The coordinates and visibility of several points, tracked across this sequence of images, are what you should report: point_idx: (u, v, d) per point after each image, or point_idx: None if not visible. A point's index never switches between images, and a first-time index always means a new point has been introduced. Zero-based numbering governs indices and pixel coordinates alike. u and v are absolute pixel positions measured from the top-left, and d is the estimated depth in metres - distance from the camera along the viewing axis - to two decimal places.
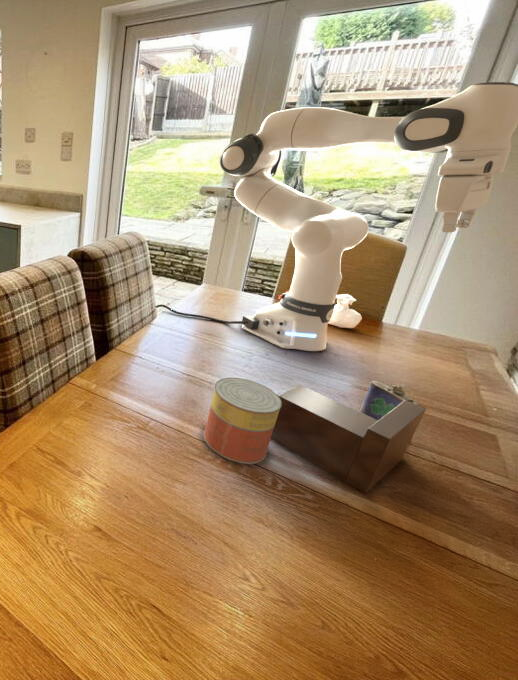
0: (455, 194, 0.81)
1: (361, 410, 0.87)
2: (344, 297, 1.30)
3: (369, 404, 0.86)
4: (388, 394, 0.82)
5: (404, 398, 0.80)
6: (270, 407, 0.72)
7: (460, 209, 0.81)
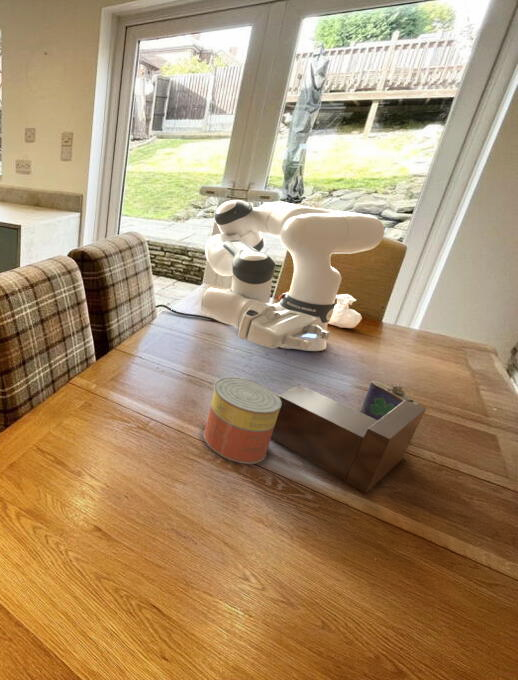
0: (260, 334, 0.93)
1: (361, 410, 0.87)
2: (344, 297, 1.30)
3: (369, 404, 0.86)
4: (388, 394, 0.82)
5: (404, 398, 0.80)
6: (270, 407, 0.72)
7: (277, 334, 0.91)
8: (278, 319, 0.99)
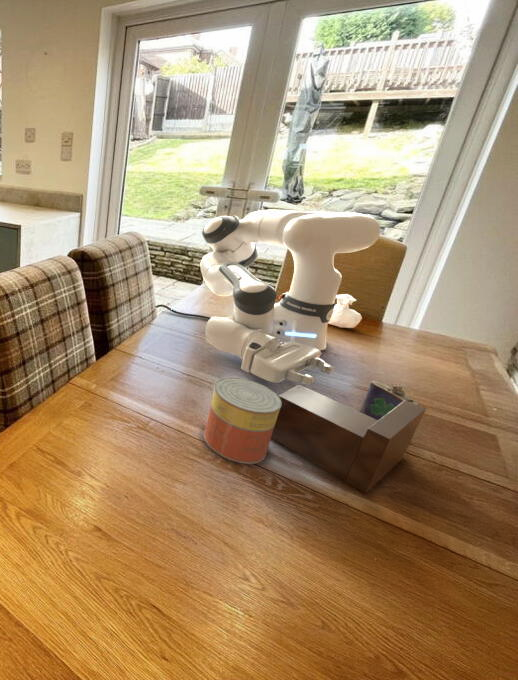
0: (263, 368, 0.94)
1: (361, 410, 0.87)
2: (344, 297, 1.30)
3: (369, 404, 0.86)
4: (388, 394, 0.82)
5: (404, 398, 0.80)
6: (270, 407, 0.72)
7: (279, 369, 0.92)
8: (281, 352, 1.00)
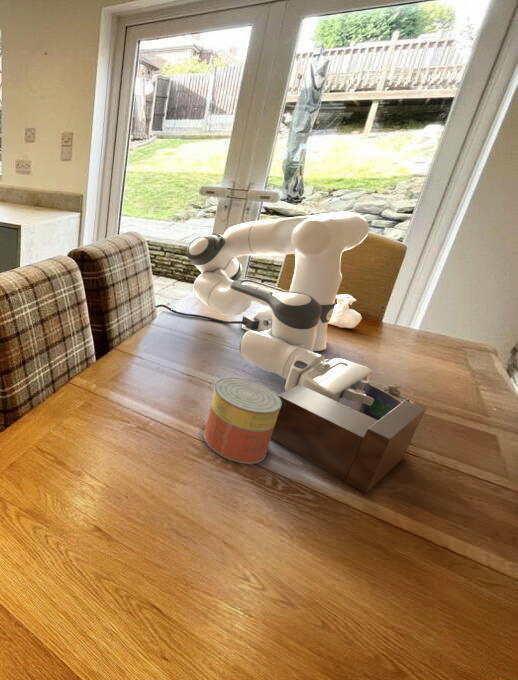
0: None
1: (360, 410, 0.87)
2: (344, 297, 1.30)
3: None
4: (384, 394, 0.82)
5: (400, 398, 0.79)
6: (270, 407, 0.72)
7: (332, 392, 0.83)
8: (329, 371, 0.91)
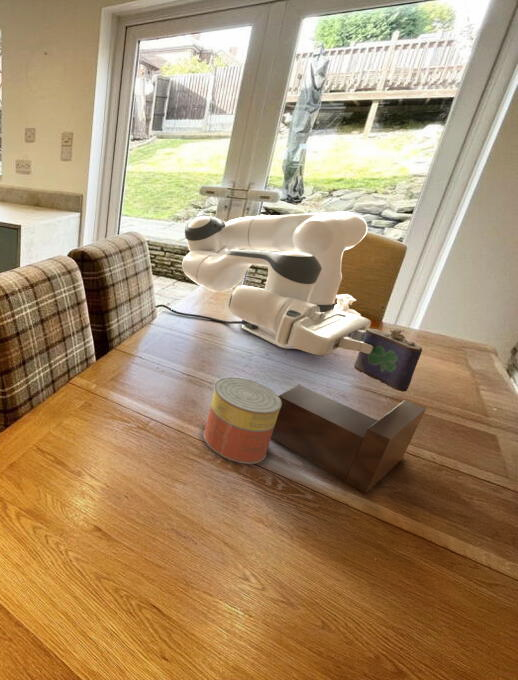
0: (305, 339, 0.79)
1: (357, 362, 0.80)
2: (344, 297, 1.30)
3: (366, 354, 0.78)
4: (386, 340, 0.74)
5: (404, 342, 0.72)
6: (270, 407, 0.72)
7: (326, 339, 0.76)
8: (324, 321, 0.84)
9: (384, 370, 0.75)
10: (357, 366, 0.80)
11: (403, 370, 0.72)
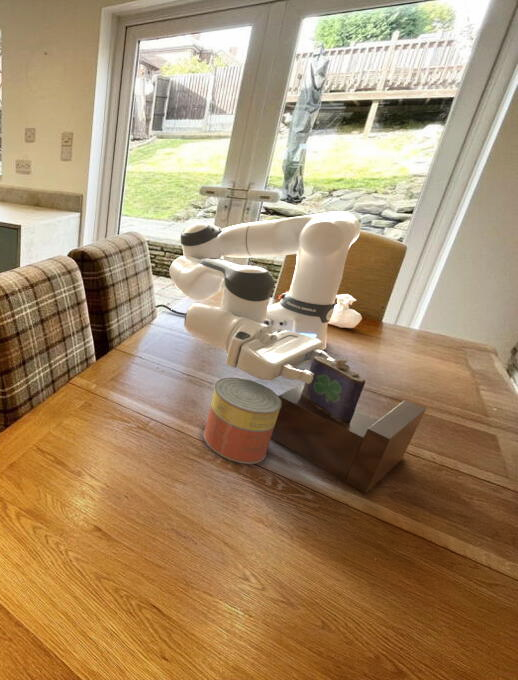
0: (252, 363, 0.76)
1: (304, 390, 0.77)
2: (344, 297, 1.30)
3: (312, 382, 0.76)
4: (332, 370, 0.72)
5: (349, 373, 0.70)
6: (270, 407, 0.72)
7: (272, 364, 0.73)
8: (275, 343, 0.81)
9: (329, 401, 0.73)
10: (303, 394, 0.77)
11: (346, 402, 0.70)
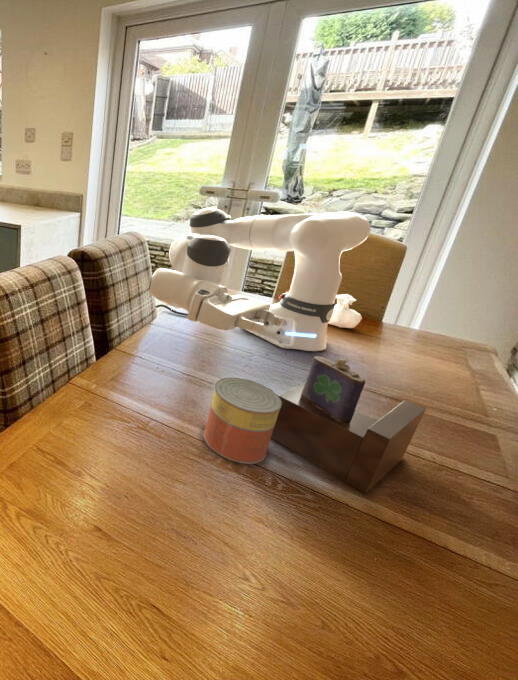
0: (212, 314, 0.83)
1: (304, 390, 0.77)
2: (344, 297, 1.30)
3: (312, 382, 0.76)
4: (332, 370, 0.72)
5: (349, 373, 0.70)
6: (270, 407, 0.72)
7: (230, 314, 0.80)
8: (230, 302, 0.89)
9: (329, 401, 0.73)
10: (303, 394, 0.77)
11: (346, 402, 0.70)
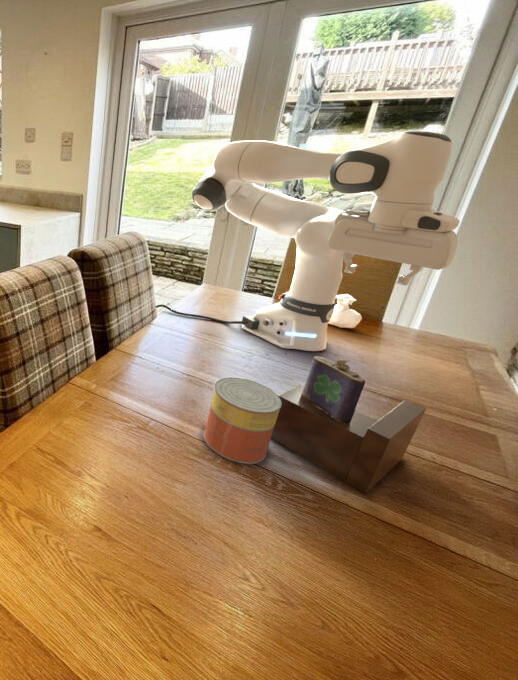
0: (453, 251, 0.76)
1: (304, 390, 0.77)
2: (344, 297, 1.30)
3: (312, 382, 0.76)
4: (332, 370, 0.72)
5: (349, 373, 0.70)
6: (270, 407, 0.72)
7: None
8: None
9: (329, 401, 0.73)
10: (303, 394, 0.77)
11: (346, 402, 0.70)
